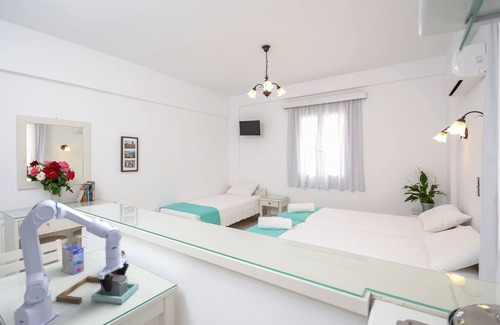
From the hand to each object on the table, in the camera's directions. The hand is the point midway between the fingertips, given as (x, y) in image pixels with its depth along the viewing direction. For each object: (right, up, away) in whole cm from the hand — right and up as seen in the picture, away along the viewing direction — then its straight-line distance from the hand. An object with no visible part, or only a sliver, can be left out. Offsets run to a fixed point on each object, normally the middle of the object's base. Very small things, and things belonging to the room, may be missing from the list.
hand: (114, 286), depth 98 cm
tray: (0, -4, 0) cm, 4 cm away
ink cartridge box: (-33, -3, +20) cm, 39 cm away
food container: (-9, -3, +19) cm, 21 cm away
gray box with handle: (0, -3, 0) cm, 3 cm away
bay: (-15, -4, +3) cm, 15 cm away
